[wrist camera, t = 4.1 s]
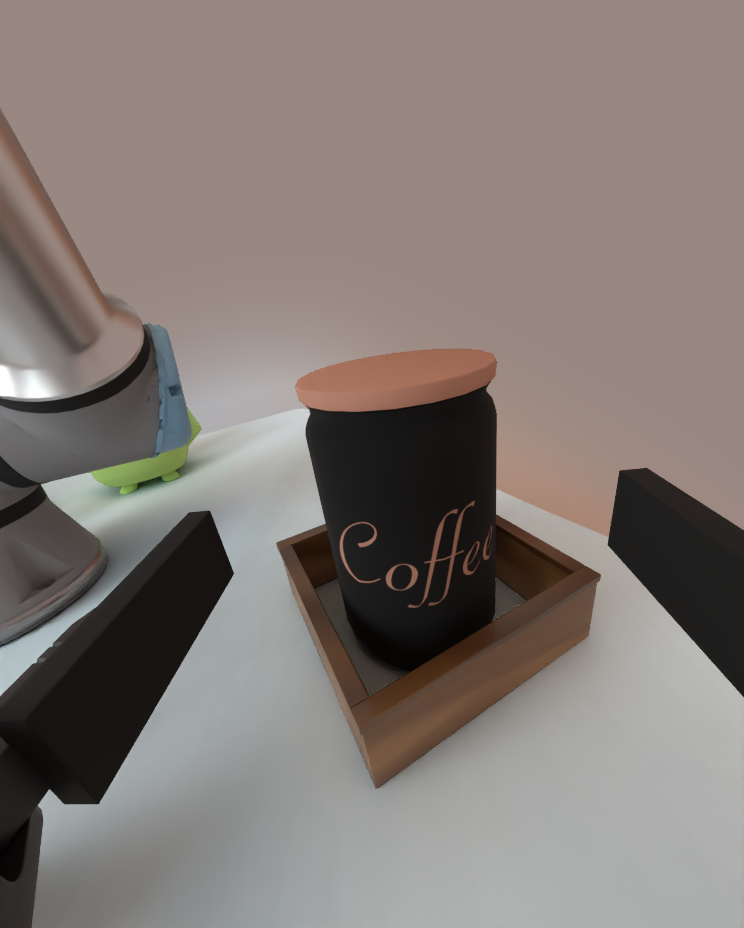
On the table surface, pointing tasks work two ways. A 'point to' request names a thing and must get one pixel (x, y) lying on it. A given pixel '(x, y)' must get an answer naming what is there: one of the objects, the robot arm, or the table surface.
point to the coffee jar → (408, 494)
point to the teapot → (147, 466)
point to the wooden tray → (460, 667)
